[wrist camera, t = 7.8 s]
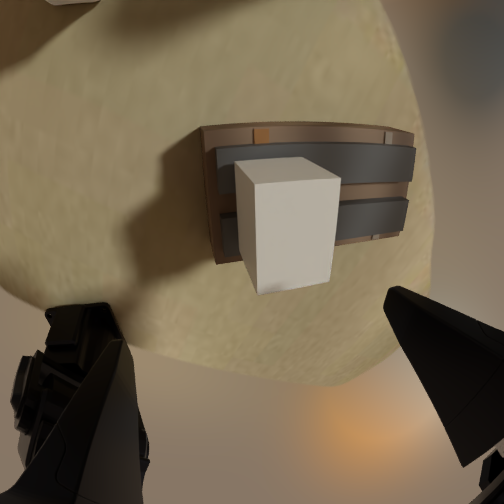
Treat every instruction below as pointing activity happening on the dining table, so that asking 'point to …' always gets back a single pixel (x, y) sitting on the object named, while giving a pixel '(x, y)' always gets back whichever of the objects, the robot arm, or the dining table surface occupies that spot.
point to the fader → (286, 221)
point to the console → (324, 155)
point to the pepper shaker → (68, 1)
